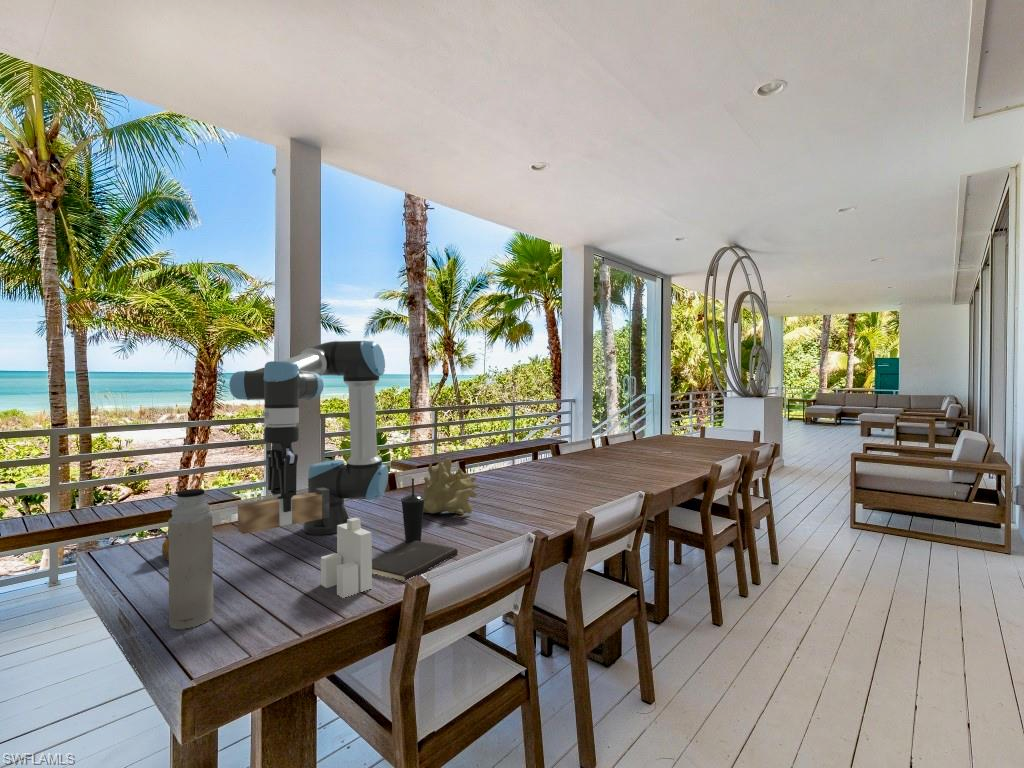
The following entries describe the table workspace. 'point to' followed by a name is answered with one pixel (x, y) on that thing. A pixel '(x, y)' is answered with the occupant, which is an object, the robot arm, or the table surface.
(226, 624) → the table surface
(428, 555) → the hardcover book
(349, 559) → the white block with nub
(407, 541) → the drinking cup
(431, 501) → the decorative coral
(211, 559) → the thermos bottle
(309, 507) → the tan piece
